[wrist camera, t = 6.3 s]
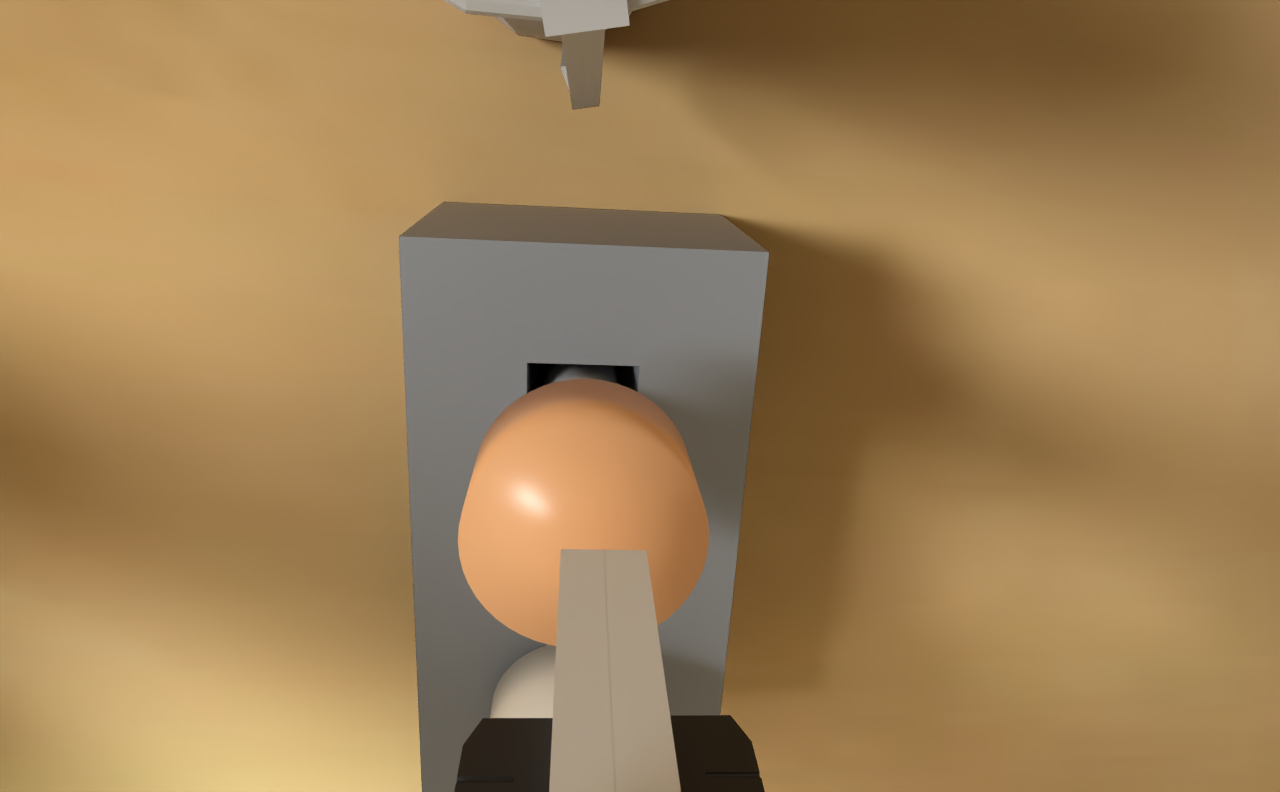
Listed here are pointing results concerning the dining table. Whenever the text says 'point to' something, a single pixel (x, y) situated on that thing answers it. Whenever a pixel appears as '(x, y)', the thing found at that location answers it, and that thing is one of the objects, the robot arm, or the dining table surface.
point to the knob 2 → (578, 497)
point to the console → (507, 369)
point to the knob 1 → (527, 687)
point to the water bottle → (565, 33)
